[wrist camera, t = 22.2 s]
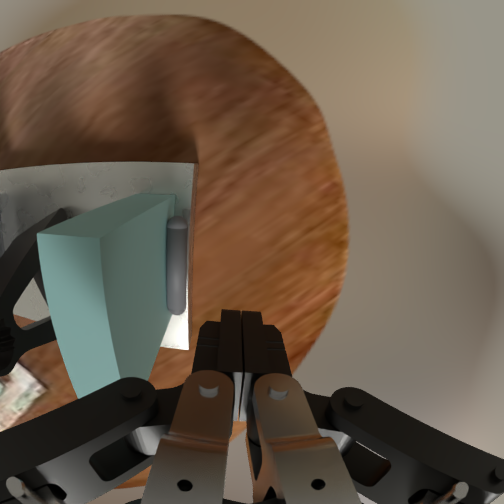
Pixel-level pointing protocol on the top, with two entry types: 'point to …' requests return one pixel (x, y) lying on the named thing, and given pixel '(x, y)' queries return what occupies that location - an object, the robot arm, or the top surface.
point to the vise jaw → (114, 286)
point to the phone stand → (11, 288)
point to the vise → (86, 199)
